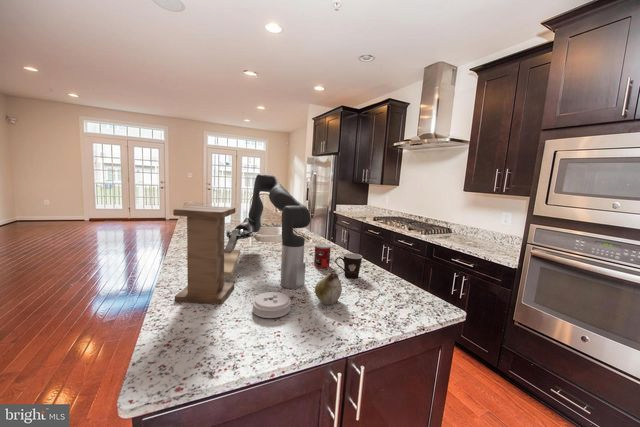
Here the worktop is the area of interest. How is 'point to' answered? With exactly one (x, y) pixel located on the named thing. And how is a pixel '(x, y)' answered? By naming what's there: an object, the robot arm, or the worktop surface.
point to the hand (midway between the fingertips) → (233, 237)
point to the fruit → (328, 289)
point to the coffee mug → (351, 265)
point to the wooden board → (231, 254)
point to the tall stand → (205, 254)
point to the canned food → (322, 256)
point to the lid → (271, 305)
